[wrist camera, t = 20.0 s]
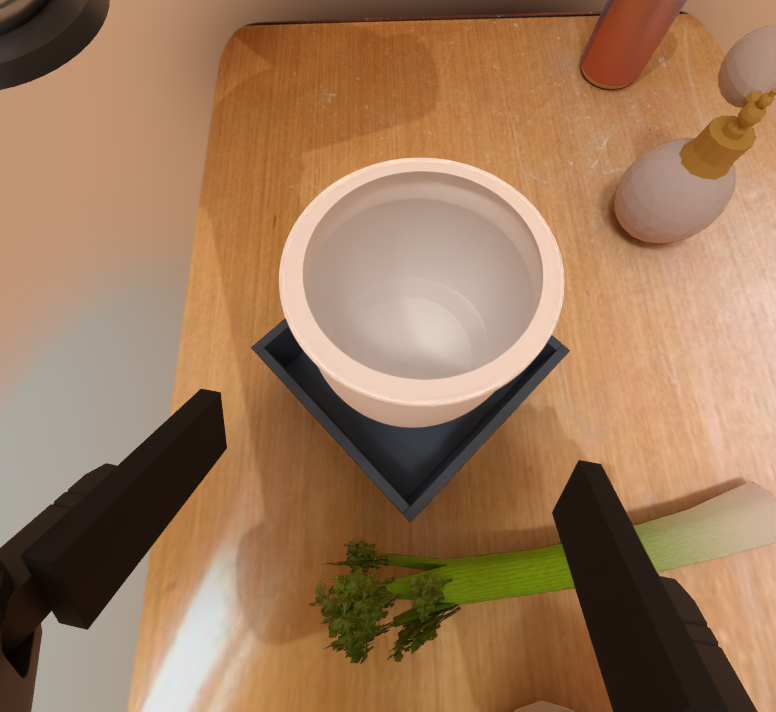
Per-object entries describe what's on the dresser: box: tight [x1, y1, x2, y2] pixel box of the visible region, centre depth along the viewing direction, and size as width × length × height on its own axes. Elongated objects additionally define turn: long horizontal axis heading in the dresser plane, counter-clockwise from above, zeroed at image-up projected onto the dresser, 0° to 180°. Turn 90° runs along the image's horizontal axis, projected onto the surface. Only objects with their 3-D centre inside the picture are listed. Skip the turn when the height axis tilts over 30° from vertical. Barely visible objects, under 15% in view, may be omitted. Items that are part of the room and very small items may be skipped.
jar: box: [279, 158, 564, 428], centre depth 21 cm, size 11×10×15 cm
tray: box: [251, 318, 570, 522], centre depth 26 cm, size 14×14×6 cm
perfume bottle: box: [614, 26, 776, 243], centre depth 27 cm, size 8×10×12 cm
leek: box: [309, 481, 776, 664], centre depth 23 cm, size 6×7×30 cm
